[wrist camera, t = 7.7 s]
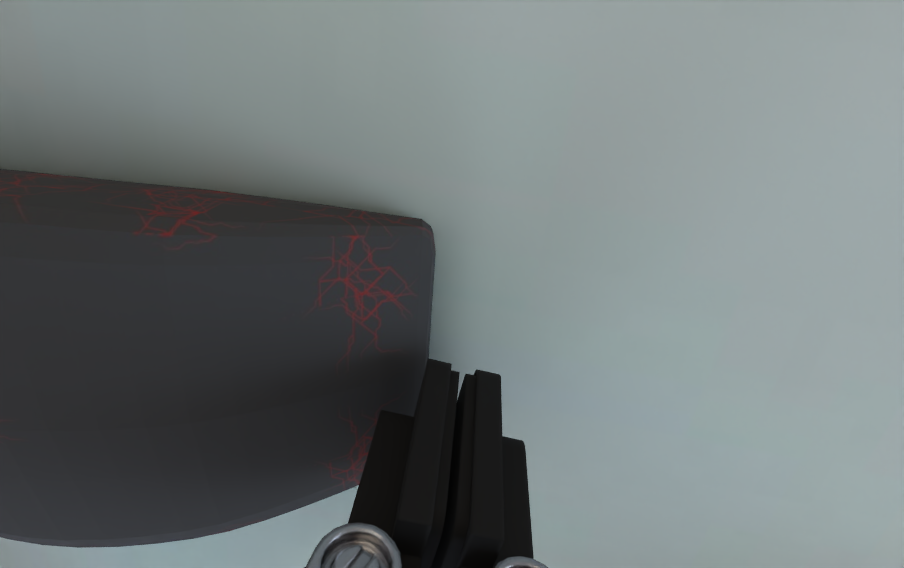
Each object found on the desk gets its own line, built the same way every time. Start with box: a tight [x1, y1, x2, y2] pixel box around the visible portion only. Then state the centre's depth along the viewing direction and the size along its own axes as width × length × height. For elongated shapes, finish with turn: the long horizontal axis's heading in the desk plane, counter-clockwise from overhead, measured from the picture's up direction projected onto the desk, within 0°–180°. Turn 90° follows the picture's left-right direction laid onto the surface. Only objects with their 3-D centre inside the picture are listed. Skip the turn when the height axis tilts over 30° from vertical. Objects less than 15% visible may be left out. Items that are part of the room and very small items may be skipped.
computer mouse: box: [0, 169, 435, 547], centre depth 10 cm, size 8×14×4 cm, turn 86°
